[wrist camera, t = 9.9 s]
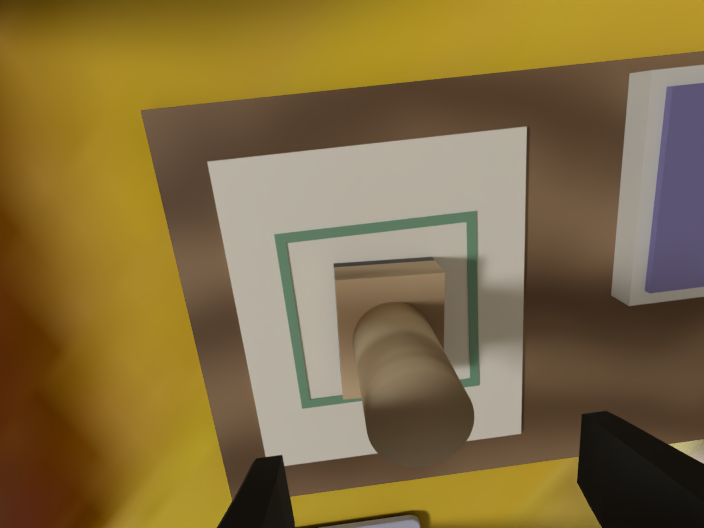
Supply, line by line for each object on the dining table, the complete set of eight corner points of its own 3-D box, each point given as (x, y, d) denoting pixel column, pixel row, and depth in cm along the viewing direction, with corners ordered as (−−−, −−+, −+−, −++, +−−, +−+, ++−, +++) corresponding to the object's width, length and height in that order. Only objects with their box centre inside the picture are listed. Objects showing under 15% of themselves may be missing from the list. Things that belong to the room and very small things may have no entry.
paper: (519, 431, 22) (521, 434, 21) (268, 465, 21) (267, 469, 21) (524, 126, 17) (527, 126, 17) (208, 161, 17) (206, 161, 17)
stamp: (431, 365, 20) (488, 488, 13) (340, 372, 20) (352, 501, 13) (431, 256, 18) (496, 334, 12) (333, 263, 18) (343, 347, 12)
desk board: (753, 416, 24) (771, 429, 23) (236, 488, 23) (233, 504, 22) (832, 38, 18) (861, 34, 17) (150, 110, 17) (140, 110, 16)
